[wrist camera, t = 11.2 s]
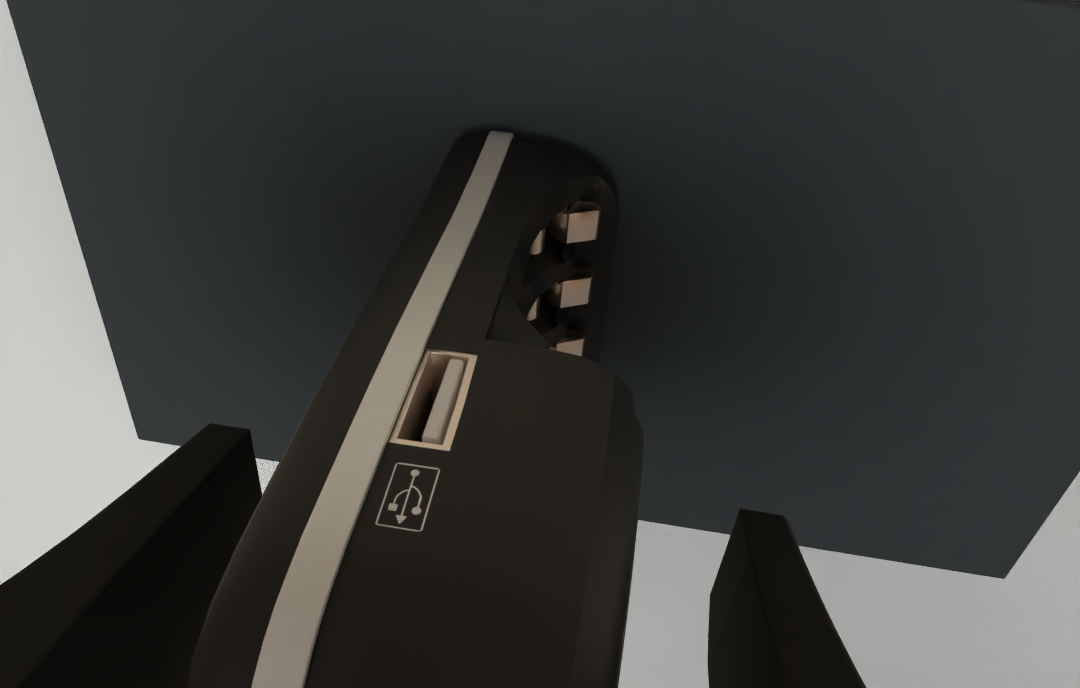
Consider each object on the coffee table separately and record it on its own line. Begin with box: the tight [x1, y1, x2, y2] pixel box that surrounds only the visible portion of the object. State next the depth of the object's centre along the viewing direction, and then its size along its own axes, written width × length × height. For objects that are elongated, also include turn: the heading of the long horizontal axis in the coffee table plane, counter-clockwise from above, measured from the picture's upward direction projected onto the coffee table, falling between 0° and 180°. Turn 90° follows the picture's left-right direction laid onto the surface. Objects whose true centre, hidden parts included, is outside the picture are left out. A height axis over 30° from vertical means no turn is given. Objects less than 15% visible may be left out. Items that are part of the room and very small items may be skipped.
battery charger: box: [186, 131, 644, 688], centre depth 12 cm, size 7×4×11 cm, turn 176°
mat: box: [7, 0, 1080, 579], centre depth 17 cm, size 22×13×1 cm, turn 85°
